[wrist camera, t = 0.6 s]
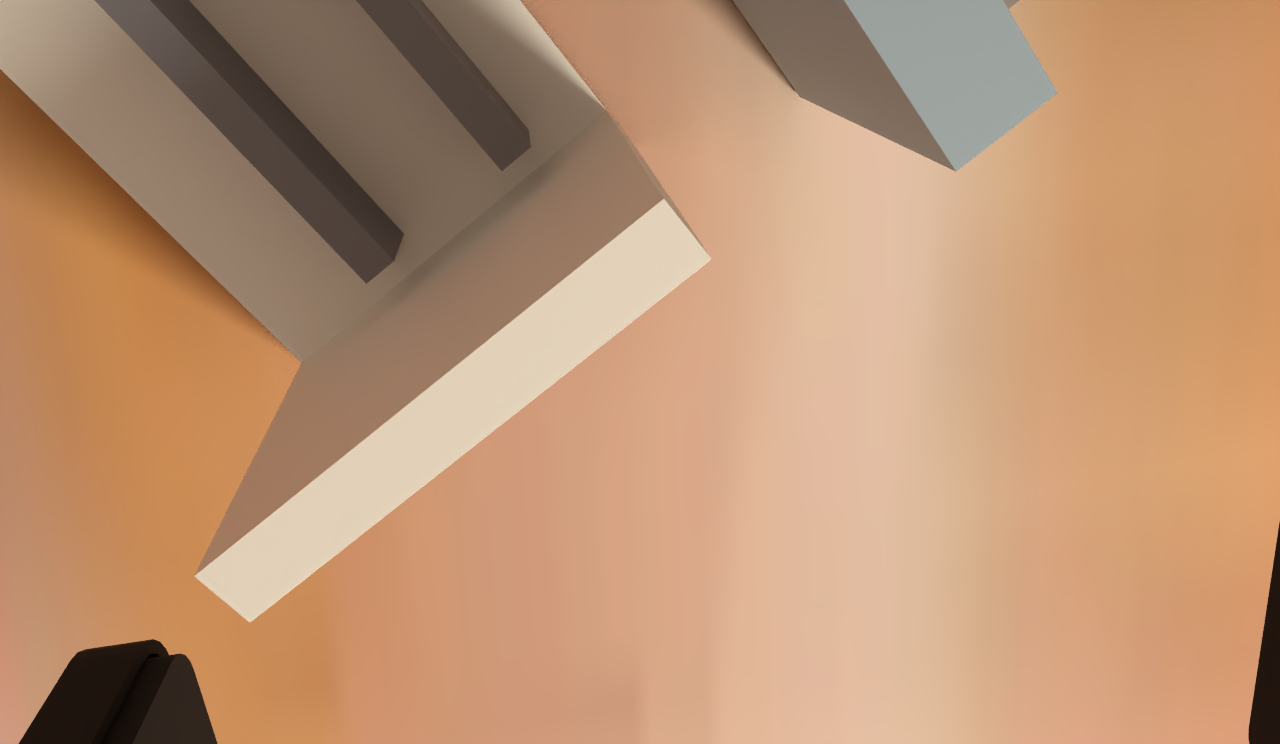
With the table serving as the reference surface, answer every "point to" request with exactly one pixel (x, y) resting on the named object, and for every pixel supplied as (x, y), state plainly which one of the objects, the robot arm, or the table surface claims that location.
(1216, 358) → the table surface
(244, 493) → the cabinet base
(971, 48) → the door panel
